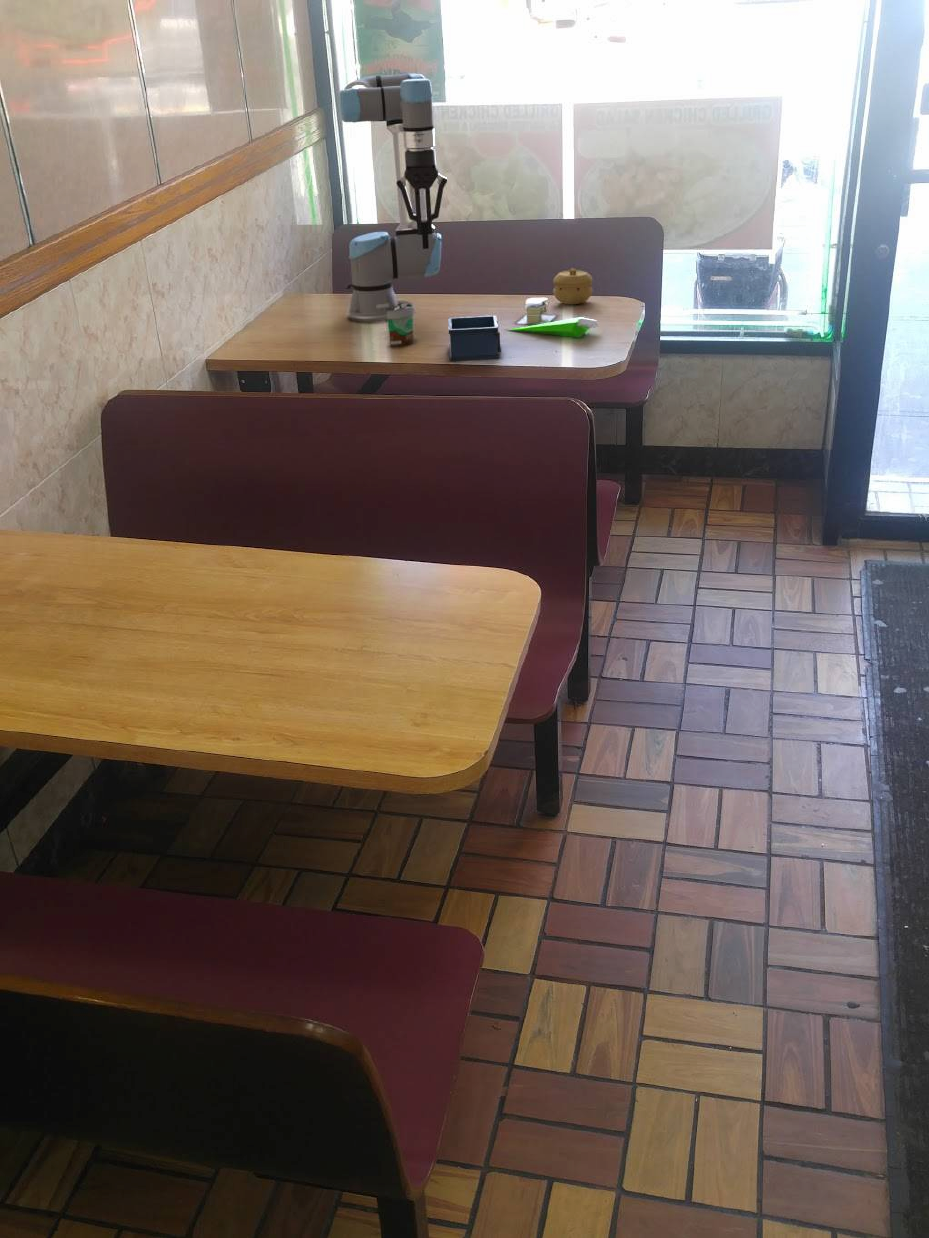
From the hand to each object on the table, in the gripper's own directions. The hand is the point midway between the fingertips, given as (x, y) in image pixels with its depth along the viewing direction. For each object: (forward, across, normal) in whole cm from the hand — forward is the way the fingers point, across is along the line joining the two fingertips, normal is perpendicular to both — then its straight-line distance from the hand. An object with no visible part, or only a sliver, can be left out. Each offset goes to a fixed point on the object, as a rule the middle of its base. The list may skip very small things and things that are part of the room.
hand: (425, 247), depth 289 cm
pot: (+27, +42, +41) cm, 65 cm away
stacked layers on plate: (+27, +30, +24) cm, 47 cm away
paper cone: (+27, +33, +6) cm, 43 cm away
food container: (+27, -7, +7) cm, 29 cm away
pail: (+22, +5, -7) cm, 24 cm away
